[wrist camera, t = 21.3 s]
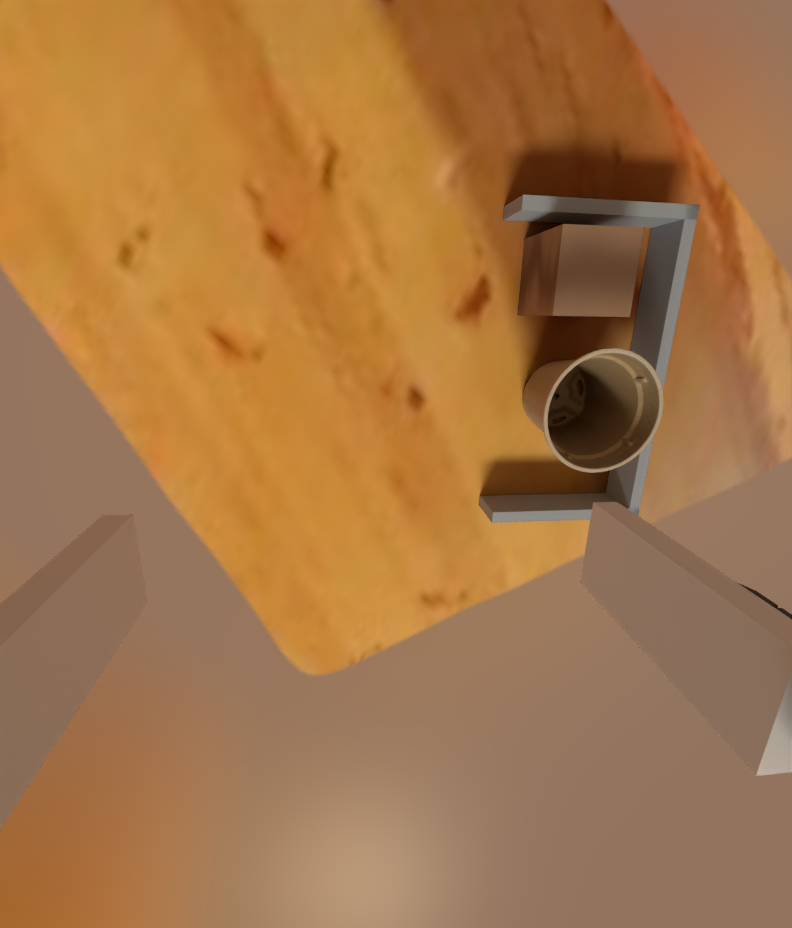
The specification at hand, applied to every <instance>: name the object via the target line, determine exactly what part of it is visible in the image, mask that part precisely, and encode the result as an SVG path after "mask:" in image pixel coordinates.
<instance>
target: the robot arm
mask: <svg viewBox="0 0 792 928" xmlns="http://www.w3.org/2000/svg"><path fill="white" fill-rule="evenodd" d="M580 582H581V584H582V585H583V586H584V587H585V588H586V589H587V590H588V591H589V592H590V593H591V595H592V596H593V597H594V598H595V599H596V600H597V601H598V602H599V603H600V605H601V606H603V608H604V609H605V610H606V611H607V612H608V613H609V614H610V615H611V617H612V618H613V619H614V620H615V621H616V622H617V623H618V624H619V625H620V627H621V628H622V629H623V630H624V631H625V632H626V633H627V634H628V635H629V636H630V637H631V639H632V640H633V641H634V642H635V643H636V644H637V645H638V646H639V648H641V650H642V651H643V652H644V653H645V654H646V655H647V656H648V657H649V658H650V660H651V661H652V662H653V663H654V664H655V665H656V666H657V667H658V668H659V670H660V671H661V672H662V673H663V674H664V675H665V676H666V677H667V678H668V679H669V681H671V683H672V684H673V685H674V686H675V687H676V688H677V689H678V690H679V691H680V693H681V694H682V695H683V696H684V697H685V698H686V699H687V700H688V702H690V704H691V705H692V706H693V707H694V708H695V709H696V710H697V711H698V712H699V714H700V715H701V716H702V717H703V718H704V719H705V720H706V721H707V722H708V724H709V725H710V726H711V727H712V728H713V729H714V730H715V731H716V732H717V734H718V735H720V737H721V738H722V739H723V740H724V741H725V742H726V743H727V745H728V746H729V747H730V748H731V749H732V750H733V751H734V752H735V753H736V755H737V756H738V757H739V758H740V759H741V760H742V761H743V762H744V763H745V764H746V766H747V767H749V769H750V770H751V771H752V772H753V773H754V774H755V775H756V776H759V775H769V774H777V773H787V772H792V614H790V613H788V612H787V611H785V610H784V609H782V608H778V606H777V605H776V604H775V603H773V602H772V601H770V600H769V599H767V598H766V597H764V596H763V595H761V594H760V593H758V592H757V591H754V590H752V589H750V588H748V587H746V586H744V585H741V584H739V583H737V582H735V581H734V580H732V579H731V578H729V577H728V576H726V575H725V574H723V573H722V572H720V571H719V570H718V569H716V568H714V567H713V566H712V565H710V564H709V563H707V562H706V561H704V560H703V559H701V558H699V557H698V556H697V555H695V554H694V553H692V552H690V551H689V550H688V549H686V548H685V547H683V546H682V545H680V544H679V543H677V542H676V541H674V540H673V539H671V538H670V537H668V536H667V535H665V534H664V533H663V532H661V531H660V530H658V529H656V528H655V527H654V526H652V525H651V524H649V523H648V522H646V521H645V520H643V519H642V518H640V517H639V516H637V515H636V514H634V513H633V512H631V511H630V510H628V509H627V508H625V507H624V506H622V505H621V504H619V503H618V502H593V507H592V513H591V519H590V526H589V532H588V538H587V544H586V550H585V556H584V562H583V569H582V574H581V580H580ZM146 604H147V597H146V591H145V584H144V579H143V572H142V566H141V560H140V554H139V547H138V541H137V535H136V529H135V522H134V516H133V515H103V516H101V517H100V518H99V519H98V520H97V521H96V522H94V523H93V524H92V525H91V526H90V527H89V528H87V529H86V530H85V531H84V532H83V533H82V534H81V535H79V536H78V537H77V538H76V539H75V540H74V541H72V542H71V543H70V544H69V545H68V546H67V547H66V548H64V549H63V550H62V551H61V552H60V553H59V554H58V555H56V556H55V557H54V558H53V559H52V560H51V561H49V562H48V563H47V564H46V565H45V566H44V567H43V568H41V569H40V570H39V571H38V572H37V573H36V574H35V575H33V576H32V577H31V578H30V579H29V580H28V581H26V582H25V583H24V584H23V585H22V586H21V587H19V589H17V590H16V591H15V592H14V593H13V594H11V595H10V596H9V597H8V598H7V599H6V600H4V601H3V602H2V603H1V604H0V829H1V827H2V826H3V824H4V823H5V821H6V820H7V818H8V817H9V815H10V814H11V812H12V811H13V809H14V807H15V806H16V804H17V803H18V801H19V800H20V798H21V797H22V795H23V794H24V792H25V790H26V789H27V787H28V786H29V784H30V783H31V781H32V780H33V778H34V777H35V775H36V774H37V772H38V770H39V769H40V768H41V766H42V764H43V763H44V761H45V760H46V758H47V757H48V755H49V754H50V752H51V751H52V749H53V748H54V746H55V744H56V743H57V741H58V740H59V738H60V737H61V735H62V734H63V732H64V731H65V729H66V728H67V726H68V724H69V723H70V721H71V720H72V718H73V717H74V715H75V714H76V712H77V711H78V709H79V707H80V706H81V704H82V703H83V701H84V700H85V698H86V697H87V695H88V694H89V692H90V691H91V689H92V688H93V686H94V684H95V683H96V681H97V680H98V678H99V677H100V675H101V674H102V672H103V671H104V669H105V667H106V666H107V664H108V663H109V661H110V660H111V658H112V657H113V655H114V654H115V652H116V650H117V649H118V647H119V646H120V644H121V643H122V641H123V640H124V638H125V637H126V635H127V634H128V632H129V631H130V629H131V627H132V626H133V624H134V623H135V621H136V620H137V618H138V617H139V615H140V613H141V612H142V611H143V609H144V608H145V606H146Z"/></svg>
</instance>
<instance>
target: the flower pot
mask: <svg viewBox="0 0 792 928" xmlns="http://www.w3.org/2000/svg"><path fill="white" fill-rule="evenodd" d="M579 380H581V382H582V384H583V392H582V394H580V389H579V384H578V381H579ZM556 394H559V397H558V398H556V397H555V395H556ZM663 399H664V396H663V391H662V386H661V382H660V379H659V377H658V375H657V373H656V371H655V370H654V368H653V367H652V366H651V364H650V363H649V362H648V361H647V360H645V359H644V358H643V357H641V356H640V355H638V354H636V353H634V352H632V351H630V350H626V349H620V348H606V349H599V350H595V351H592V352H589V353H587V354H585V355H583V356H581V357H579V358H578V359H574V360H563V361H553V362H549V363H547V364H545V365H543V366H541V367H540V368H538V369H537V370H536V371H535V372H534V373H533V374H532V376H531V377H530V379H529V381H528V382H527V384H526V386H525V388H524V392H523V405H524V409H525V412H526V414H527V415H528V417H529V418H530V420H531V421H532V422H533V423H535V424H536V425H537V426H538V427H539V428H540V429H541V430H542V431H543V433H544V436H545V439H546V442H547V444H548V446H549V448H550V449H551V451H552V452H553V454H554V455H555V456H556V457H557V458H558V459H559V460H560V461H561V462H563V463H564V464H565V465H567V466H569V467H571V468H573V469H575V470H578V471H582V472H588V473H594V472H604V471H608V470H612V469H615V468H618V467H620V466H622V465H624V464H626V463H628V462H629V461H631V460H632V459H633V458H635V457H636V456H637V455H639V454H640V452H641V451H642V450H643V449H644V448H645V447H646V446H647V445H648V444H649V442H650V441H651V439H652V438H653V436H654V435H655V432H656V430H657V428H658V426H659V425H660V420H661V417H662V413H663V407H664V406H663V401H664V400H663ZM563 416H565V417H566V418H565V419H563V420H562V421H560V422H557V423H553V420H554V419H556V418H560V417H563Z"/></svg>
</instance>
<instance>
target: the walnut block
mask: <svg viewBox="0 0 792 928" xmlns="http://www.w3.org/2000/svg"><path fill="white" fill-rule="evenodd" d="M643 232H644V227H626V226H601V225H576V224H562V225H559V226H557V227H554V228H551V229H549V230H546V231H544V232H541V233H539V234H536V235H534V236H531V237H528V238H526V239H524V249H523V260H522V271H521V283H520V294H519V305H518V315H532V316H597V317H630V313H631V307H632V301H633V294H634V288H635V282H636V276H637V270H638V263H639V257H640V251H641V245H642V238H643Z"/></svg>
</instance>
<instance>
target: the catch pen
mask: <svg viewBox="0 0 792 928" xmlns="http://www.w3.org/2000/svg"><path fill="white" fill-rule="evenodd" d="M698 210H699V205H693V204H676V203H659V202H642V201H625V200H608V199H591V198H574V197H557V196H540V195H522V196H520V197H518V198H517V199H515V200H514V201H512V202H510V203H509V204H507V205H506V206H504V216H503V220H509V221H528V222H548V223H567V224H587V225H606V226H626V227H645V228H651V233H650V239H649V245H648V250H647V256H646V262H645V268H644V274H643V279H642V285H641V291H640V297H639V303H638V308H637V314H636V320H635V326H634V332H633V337H632V343H631V349H630V351H632V352H634V353H636V354H638V355H640V356H641V357H643V358H644V359H645V360H647V361H648V362H649V363H650V364H651V366H652V367H653V368H654V370H655V371H656V373H657V375H658V377H659V379H660V382H661V386H662V391H663V387H664V382H665V377H666V372H667V367H668V362H669V357H670V352H671V347H672V342H673V337H674V331H675V326H676V321H677V316H678V311H679V306H680V301H681V296H682V291H683V286H684V281H685V276H686V271H687V266H688V261H689V256H690V251H691V246H692V241H693V236H694V231H695V225H696V220H697V215H698ZM653 437H654V436H653ZM652 443H653V438H652V439H651V441H650V442H649V444H648V445H647V446H646V447H645V448H644V449H643V450H642V451H641V452H640V454H639V455H637V456H636V457H635V458H633V459H632V460H631V461H629V462H628V463H626V464H624V465H622V466H620V467H618V468H615V469H612V470H610V471H609V477H608V482H607V488H606V493H572V494H530V495H487V496H480V500H479V506H480V507H481V508H482V510H483V511H484V513H485V514H486V515H487V517H488V518H489V519H490V521H491V522H492V523H497V522H529V521H561V520H590V519H591V513H592V507H593V502H618V503H619V504H621V505H622V506H624V507H625V508H627V509H628V510H630V511H631V512H633V513H634V514H636V515H637V516H638V513H639V508H640V503H641V498H642V493H643V488H644V483H645V478H646V473H647V468H648V463H649V458H650V453H651V448H652Z"/></svg>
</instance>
